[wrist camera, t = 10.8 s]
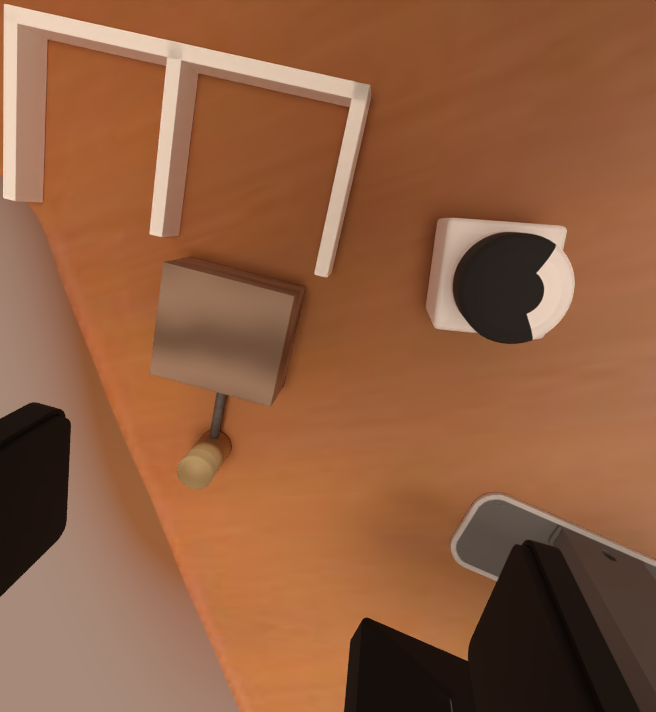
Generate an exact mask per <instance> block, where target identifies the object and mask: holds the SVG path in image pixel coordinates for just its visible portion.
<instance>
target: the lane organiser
mask: <svg viewBox="0 0 656 712" xmlns="http://www.w3.org/2000/svg"><path fill="white" fill-rule="evenodd" d="M48 40H52V41H56V42H61V43H65V44H70V45H74V46H79V47H83V48H87V49H92V50H96V51H101V52H105V53H110V54H114V55H119V56H123V57H127V58H132V59H136V60H141V61H145V62H150V63H154V64H159V65H163V66H166V74H165V84H164V94H163V104H162V114H161V124H160V134H159V144H158V154H157V164H156V174H155V184H154V194H153V204H152V214H151V224H150V234H151V235H155V236H160V237H170V236H179V232H180V223H181V215H182V207H183V198H184V190H185V182H186V173H187V165H188V157H189V148H190V140H191V132H192V123H193V115H194V107H195V98H196V90H197V82H198V74H203V75H207V76H212V77H216V78H221V79H225V80H230V81H234V82H238V83H243V84H247V85H252V86H256V87H261V88H265V89H270V90H274V91H278V92H283V93H287V94H292V95H296V96H301V97H305V98H310V99H314V100H318V101H323V102H327V103H332V104H336V105H341V106H345V107H350V109H349V114H348V119H347V123H346V128H345V133H344V137H343V142H342V147H341V151H340V156H339V161H338V165H337V170H336V174H335V179H334V184H333V188H332V193H331V198H330V202H329V207H328V212H327V216H326V221H325V226H324V230H323V235H322V240H321V244H320V249H319V254H318V258H317V263H316V268H315V272H314V275H318V276H322V277H326V278H327V277H328V276H329V275H330V274H331V273H332V269H333V265H334V261H335V256H336V252H337V247H338V243H339V239H340V234H341V230H342V225H343V221H344V217H345V212H346V208H347V203H348V199H349V194H350V190H351V186H352V181H353V177H354V172H355V168H356V164H357V159H358V155H359V150H360V146H361V141H362V137H363V133H364V128H365V124H366V119H367V115H368V111H369V106H370V102H371V97H372V95H371V88H370V85H368V84H363V83H359V82H354V81H350V80H345V79H341V78H336V77H332V76H327V75H323V74H318V73H314V72H309V71H305V70H300V69H296V68H291V67H287V66H282V65H278V64H273V63H269V62H264V61H260V60H255V59H250V58H246V57H241V56H237V55H232V54H228V53H223V52H219V51H214V50H210V49H205V48H201V47H196V46H192V45H187V44H183V43H178V42H174V41H169V40H165V39H160V38H156V37H151V36H147V35H142V34H138V33H133V32H129V31H124V30H120V29H115V28H111V27H106V26H102V25H97V24H93V23H88V22H84V21H79V20H75V19H70V18H66V17H61V16H57V15H52V14H48V13H43V12H39V11H34V10H30V9H25V8H21V7H16V6H12V5H7V4H4V147H3V198H6V199H9V200H13V201H25V202H43V185H44V151H45V117H46V83H47V49H48Z"/></svg>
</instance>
